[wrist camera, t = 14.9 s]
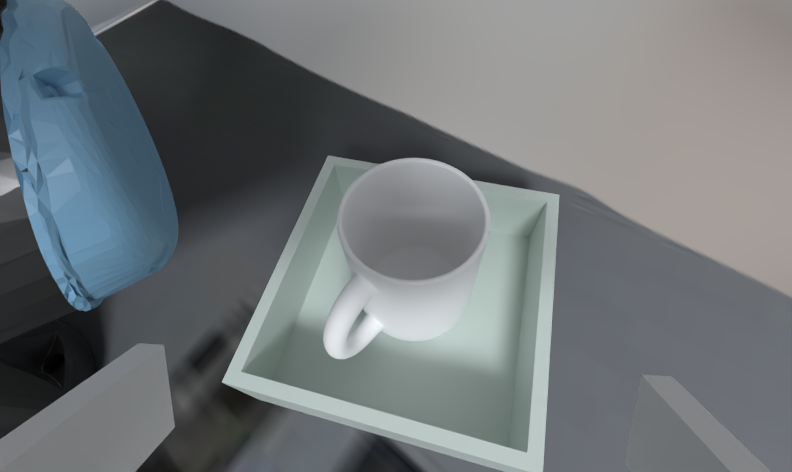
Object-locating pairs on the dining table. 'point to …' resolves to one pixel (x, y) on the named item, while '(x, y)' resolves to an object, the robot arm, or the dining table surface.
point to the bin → (419, 360)
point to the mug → (406, 253)
